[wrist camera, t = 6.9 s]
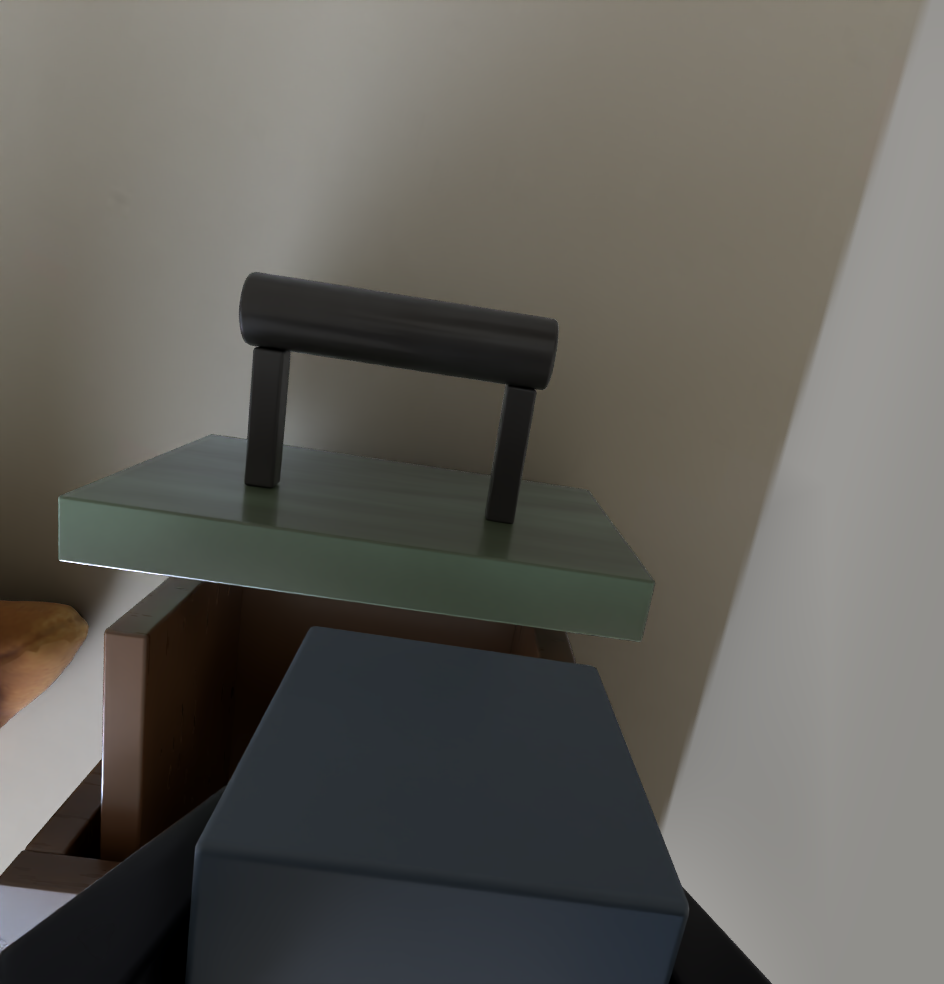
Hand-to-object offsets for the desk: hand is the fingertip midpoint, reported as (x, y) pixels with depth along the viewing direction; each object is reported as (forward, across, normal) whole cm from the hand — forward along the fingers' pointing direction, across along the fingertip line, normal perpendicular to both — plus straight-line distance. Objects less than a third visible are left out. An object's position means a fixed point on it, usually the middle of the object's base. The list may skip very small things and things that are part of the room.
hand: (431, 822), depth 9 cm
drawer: (+10, +2, +2) cm, 11 cm away
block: (+1, 0, 0) cm, 1 cm away
